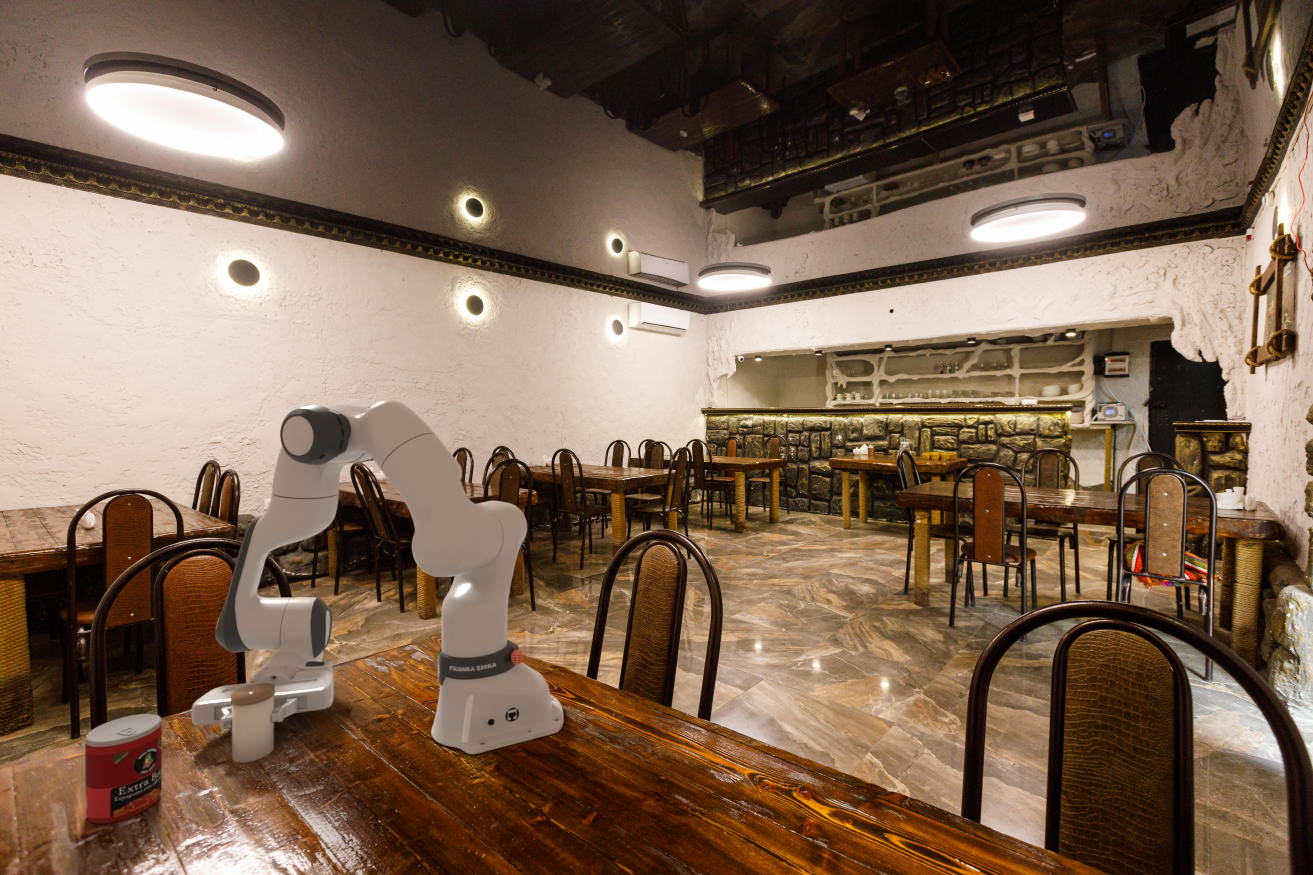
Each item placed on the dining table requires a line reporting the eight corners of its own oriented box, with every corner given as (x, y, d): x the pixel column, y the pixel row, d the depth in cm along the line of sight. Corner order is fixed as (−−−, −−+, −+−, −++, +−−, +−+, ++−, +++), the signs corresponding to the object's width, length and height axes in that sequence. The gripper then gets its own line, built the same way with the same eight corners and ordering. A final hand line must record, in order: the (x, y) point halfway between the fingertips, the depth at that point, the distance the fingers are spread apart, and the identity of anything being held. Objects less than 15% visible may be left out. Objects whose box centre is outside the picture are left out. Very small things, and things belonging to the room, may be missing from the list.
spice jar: (279, 740, 95) (279, 680, 95) (267, 759, 90) (267, 696, 90) (239, 746, 93) (239, 685, 93) (224, 765, 88) (224, 701, 88)
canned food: (116, 829, 74) (116, 744, 74) (68, 820, 75) (68, 738, 75) (176, 792, 81) (176, 716, 81) (132, 785, 83) (132, 710, 83)
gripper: (211, 674, 101) (172, 710, 88) (341, 660, 107) (322, 692, 94) (211, 710, 101) (172, 751, 88) (341, 694, 107) (322, 730, 94)
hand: (251, 720), depth 91 cm, fingers closed on spice jar, 5 cm apart
